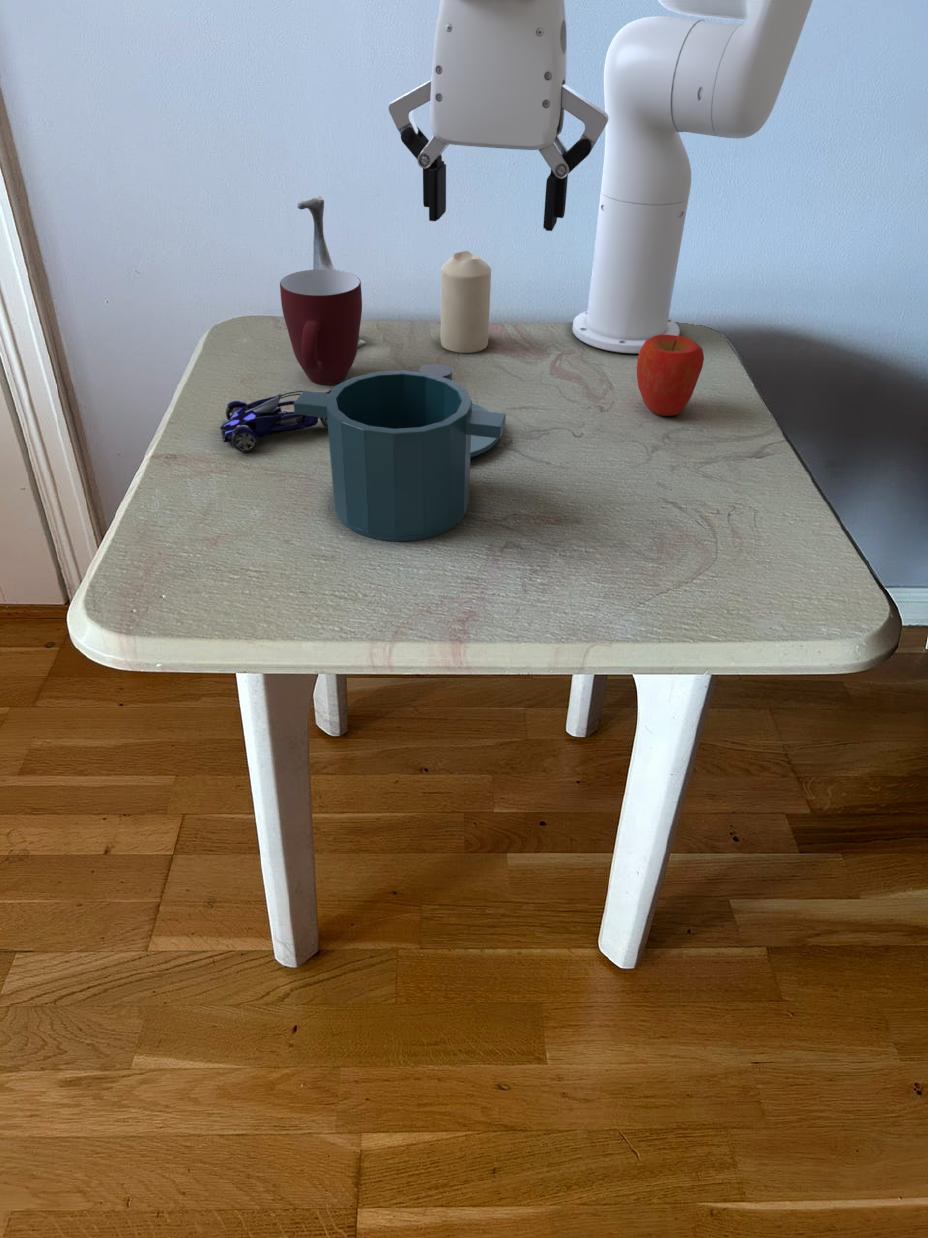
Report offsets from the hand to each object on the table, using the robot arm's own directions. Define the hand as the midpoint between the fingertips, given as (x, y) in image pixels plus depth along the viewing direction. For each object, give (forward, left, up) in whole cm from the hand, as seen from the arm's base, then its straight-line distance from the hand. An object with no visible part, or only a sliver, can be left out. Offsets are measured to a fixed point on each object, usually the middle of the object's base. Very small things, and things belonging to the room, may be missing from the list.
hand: (493, 221), depth 75 cm
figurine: (-17, -20, -19) cm, 33 cm away
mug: (-7, -18, -19) cm, 27 cm away
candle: (-21, -6, -19) cm, 29 cm away
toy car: (+5, -18, -19) cm, 27 cm away
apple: (-9, +17, -19) cm, 27 cm away
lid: (+3, -4, -19) cm, 19 cm away
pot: (+15, -4, -19) cm, 25 cm away
